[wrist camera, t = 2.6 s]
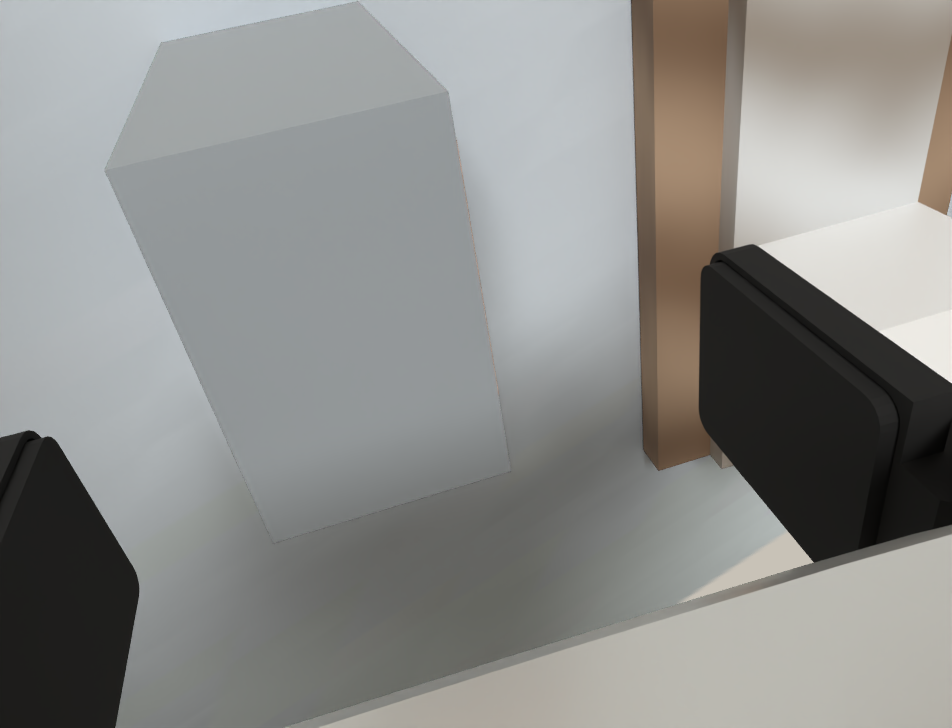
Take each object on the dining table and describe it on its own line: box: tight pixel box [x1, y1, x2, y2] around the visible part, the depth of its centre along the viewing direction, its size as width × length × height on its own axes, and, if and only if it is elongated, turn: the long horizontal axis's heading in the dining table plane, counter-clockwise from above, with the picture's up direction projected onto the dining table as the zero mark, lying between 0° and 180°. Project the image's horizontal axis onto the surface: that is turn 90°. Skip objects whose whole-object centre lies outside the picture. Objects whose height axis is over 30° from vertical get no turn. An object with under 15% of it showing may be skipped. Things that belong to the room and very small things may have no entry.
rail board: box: [632, 0, 952, 471], centre depth 19 cm, size 28×10×2 cm, turn 9°
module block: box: [105, 1, 511, 544], centre depth 15 cm, size 7×5×9 cm
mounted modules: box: [758, 202, 952, 383], centre depth 17 cm, size 22×6×5 cm, turn 9°
